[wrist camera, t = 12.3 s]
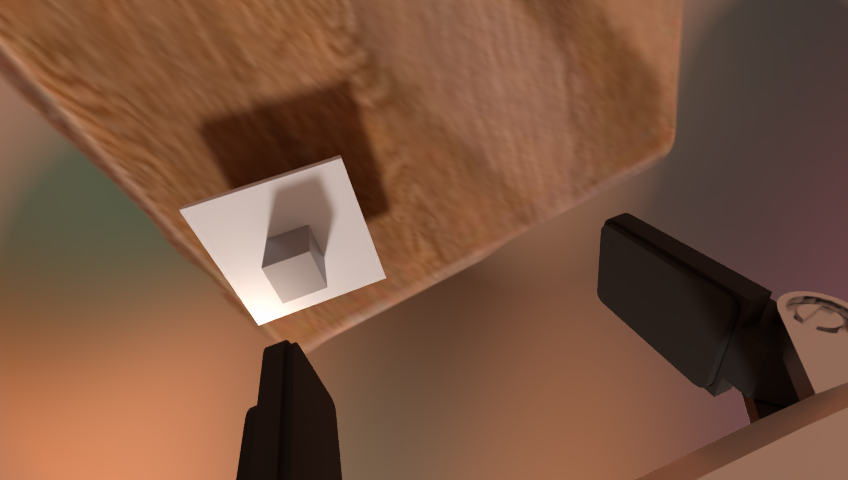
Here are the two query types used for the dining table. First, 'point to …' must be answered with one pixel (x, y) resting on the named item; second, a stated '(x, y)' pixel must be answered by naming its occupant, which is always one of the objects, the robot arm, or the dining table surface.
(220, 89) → the dining table surface
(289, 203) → the lid
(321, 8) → the dining table surface
